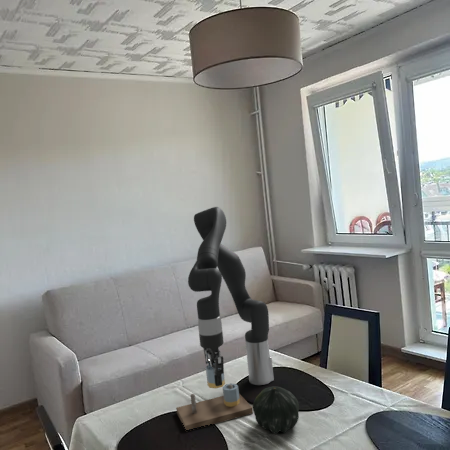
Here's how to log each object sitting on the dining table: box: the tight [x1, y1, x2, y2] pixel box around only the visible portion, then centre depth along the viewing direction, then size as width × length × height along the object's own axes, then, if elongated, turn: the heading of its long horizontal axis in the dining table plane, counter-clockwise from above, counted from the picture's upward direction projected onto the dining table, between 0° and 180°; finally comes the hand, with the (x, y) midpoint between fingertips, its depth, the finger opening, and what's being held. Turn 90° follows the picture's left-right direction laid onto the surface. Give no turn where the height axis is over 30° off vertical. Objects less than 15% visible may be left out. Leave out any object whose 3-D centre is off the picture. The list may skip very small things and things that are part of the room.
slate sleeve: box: [205, 363, 226, 389], centre depth 143 cm, size 5×5×6 cm
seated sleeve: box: [222, 383, 240, 407], centre depth 160 cm, size 5×5×6 cm
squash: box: [252, 385, 300, 435], centre depth 144 cm, size 14×15×15 cm
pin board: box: [175, 383, 254, 431], centre depth 158 cm, size 24×14×9 cm, turn 109°
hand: (215, 381), depth 143 cm, fingers closed on slate sleeve, 5 cm apart
